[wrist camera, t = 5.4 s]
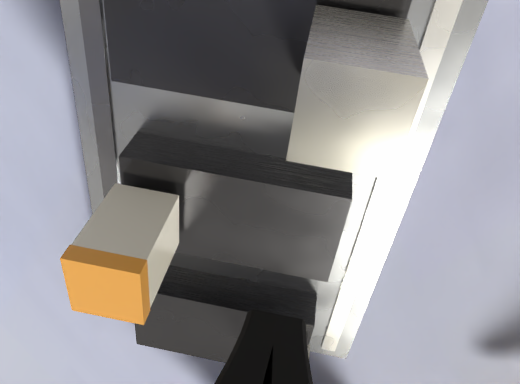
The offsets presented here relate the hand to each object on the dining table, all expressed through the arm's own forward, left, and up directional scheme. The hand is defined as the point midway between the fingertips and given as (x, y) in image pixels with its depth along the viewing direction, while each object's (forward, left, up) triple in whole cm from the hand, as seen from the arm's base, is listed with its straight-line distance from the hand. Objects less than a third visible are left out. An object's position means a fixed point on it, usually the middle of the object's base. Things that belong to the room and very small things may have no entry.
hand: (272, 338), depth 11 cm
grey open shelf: (-2, 0, -7) cm, 7 cm away
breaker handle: (-4, 0, -4) cm, 6 cm away
